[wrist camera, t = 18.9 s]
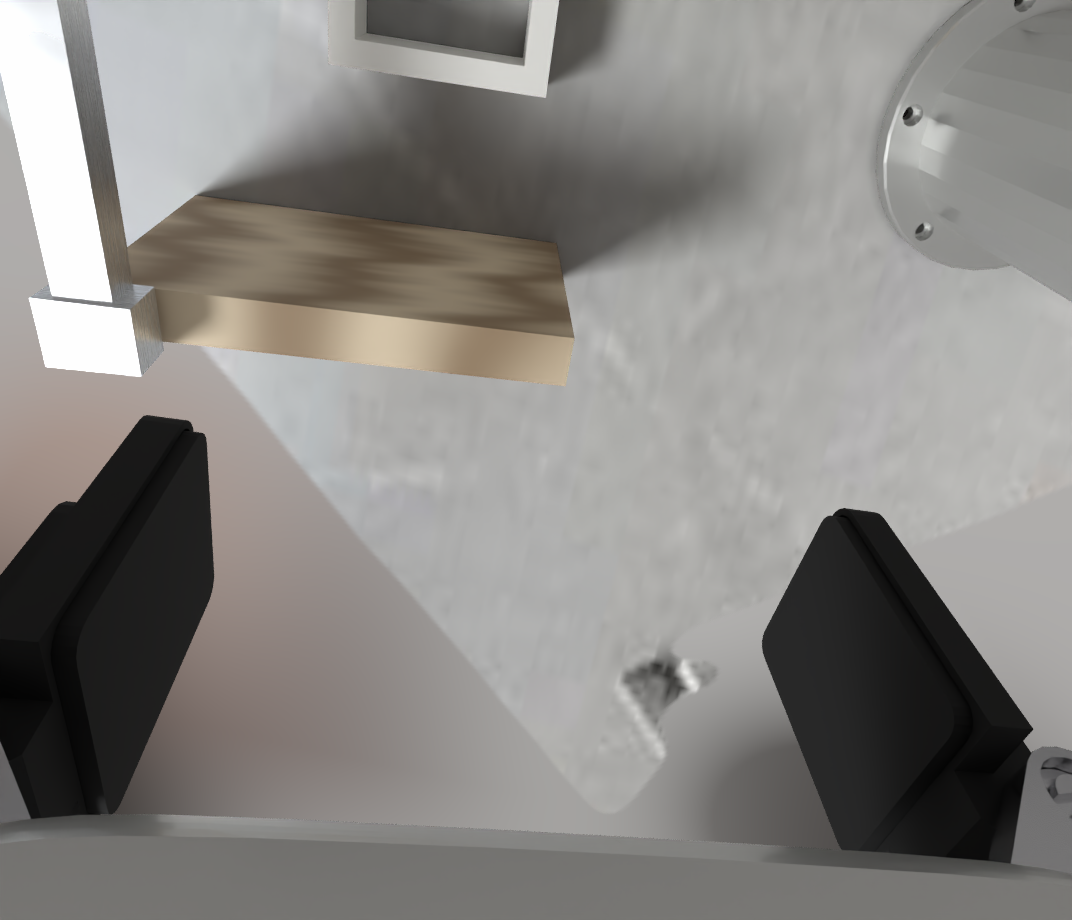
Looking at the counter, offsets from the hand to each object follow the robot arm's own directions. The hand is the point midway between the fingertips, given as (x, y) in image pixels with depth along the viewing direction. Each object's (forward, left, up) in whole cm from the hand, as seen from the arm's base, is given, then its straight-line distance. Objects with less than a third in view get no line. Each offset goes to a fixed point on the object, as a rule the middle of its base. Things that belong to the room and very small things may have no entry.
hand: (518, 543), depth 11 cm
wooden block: (+6, +5, -27) cm, 28 cm away
